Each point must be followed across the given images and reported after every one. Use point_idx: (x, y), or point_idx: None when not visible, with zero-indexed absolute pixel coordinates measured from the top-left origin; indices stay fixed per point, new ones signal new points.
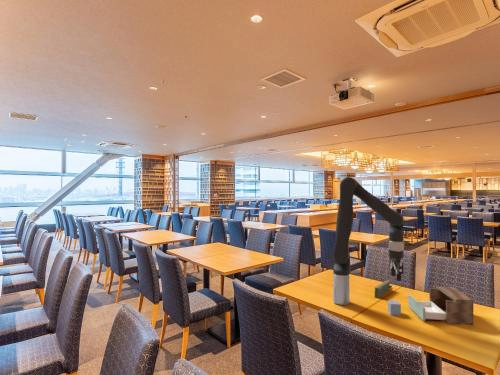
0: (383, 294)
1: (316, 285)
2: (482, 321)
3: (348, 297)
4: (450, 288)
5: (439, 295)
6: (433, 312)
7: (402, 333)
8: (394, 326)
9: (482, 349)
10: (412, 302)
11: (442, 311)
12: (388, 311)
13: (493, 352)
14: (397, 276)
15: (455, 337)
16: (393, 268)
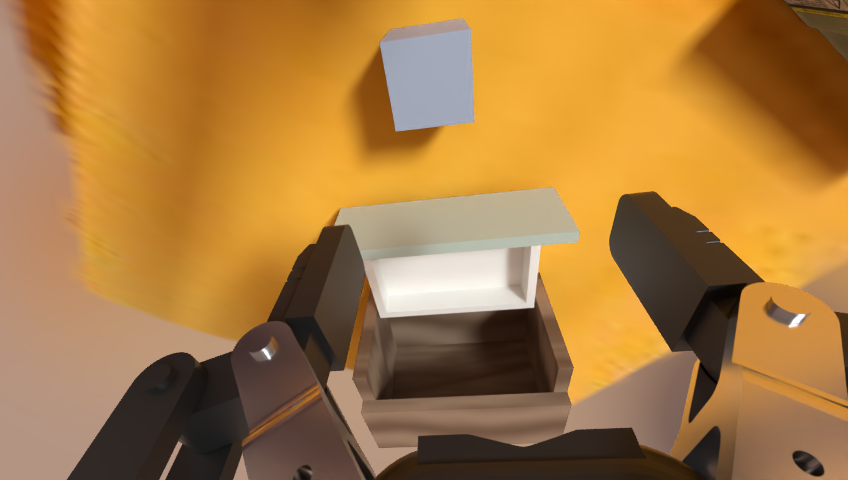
0: (838, 50)
1: None
2: None
3: None
4: (536, 433)
5: (543, 362)
6: (374, 278)
7: (115, 50)
8: (191, 14)
9: (201, 313)
10: (490, 219)
11: (403, 312)
12: (449, 20)
13: (200, 329)
14: (303, 284)
15: (247, 275)
16: (716, 349)
